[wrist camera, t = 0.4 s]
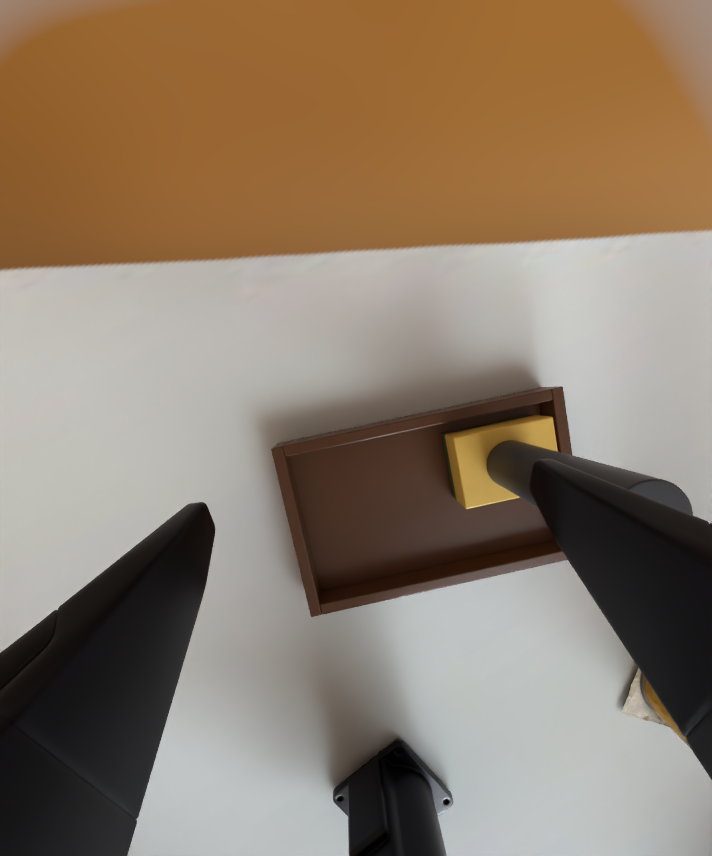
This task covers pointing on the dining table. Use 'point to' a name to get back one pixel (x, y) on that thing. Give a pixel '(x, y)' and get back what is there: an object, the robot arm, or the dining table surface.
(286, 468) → the tray
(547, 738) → the dining table surface
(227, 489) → the dining table surface
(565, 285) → the dining table surface
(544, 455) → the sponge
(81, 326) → the dining table surface
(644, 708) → the condiment
